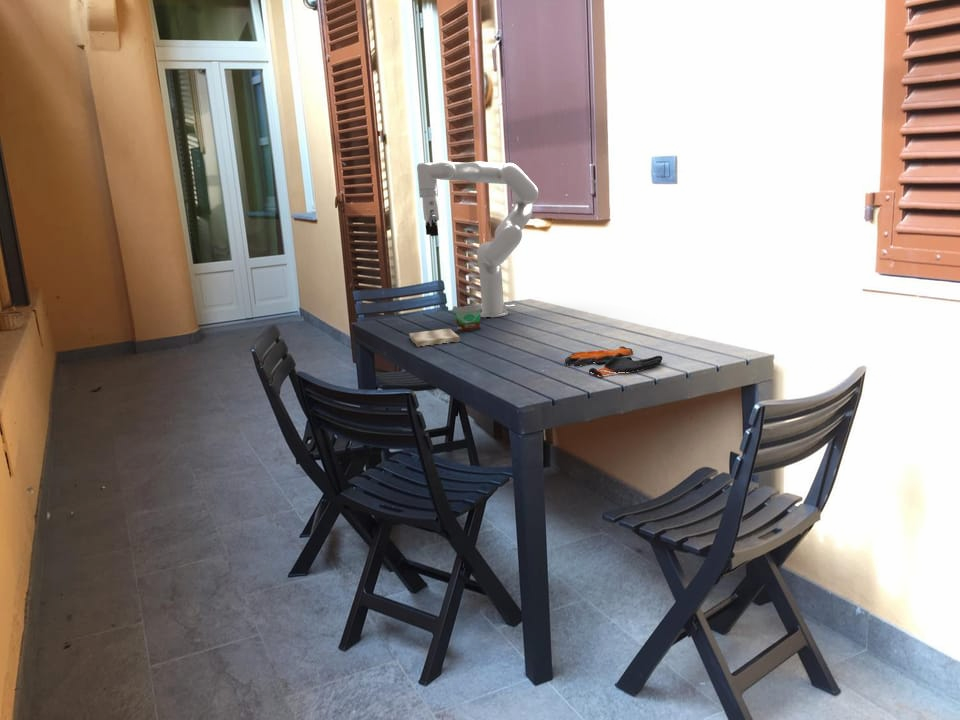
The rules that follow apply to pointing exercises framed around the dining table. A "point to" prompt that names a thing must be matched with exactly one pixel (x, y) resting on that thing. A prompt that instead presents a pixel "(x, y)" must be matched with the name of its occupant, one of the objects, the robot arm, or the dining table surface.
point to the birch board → (434, 337)
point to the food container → (467, 317)
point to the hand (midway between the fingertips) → (432, 235)
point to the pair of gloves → (612, 361)
